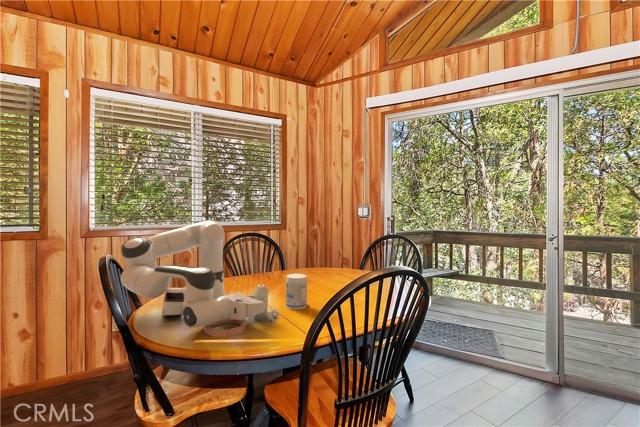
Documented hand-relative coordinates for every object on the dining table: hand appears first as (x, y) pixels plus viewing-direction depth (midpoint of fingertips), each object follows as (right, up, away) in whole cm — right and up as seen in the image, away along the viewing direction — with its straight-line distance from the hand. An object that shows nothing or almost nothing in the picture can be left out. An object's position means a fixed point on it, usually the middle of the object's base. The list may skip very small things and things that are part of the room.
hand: (260, 299), depth 130 cm
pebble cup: (0, -8, +1) cm, 8 cm away
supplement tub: (+14, -8, +16) cm, 23 cm away
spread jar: (-35, -8, +2) cm, 36 cm away
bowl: (-11, -9, -10) cm, 18 cm away
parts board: (+1, -9, +2) cm, 9 cm away
